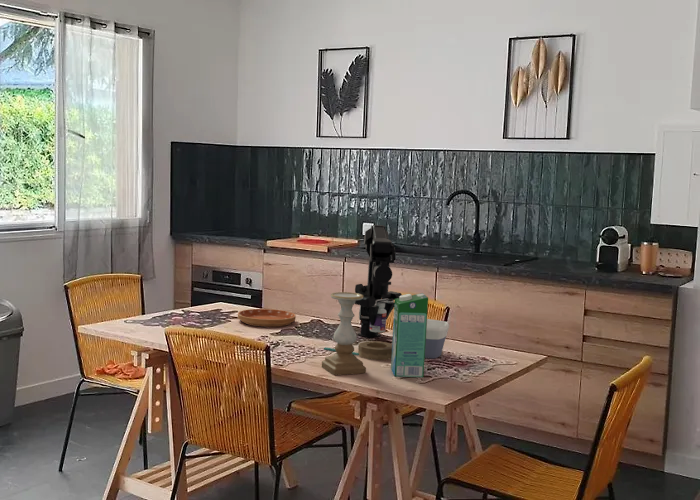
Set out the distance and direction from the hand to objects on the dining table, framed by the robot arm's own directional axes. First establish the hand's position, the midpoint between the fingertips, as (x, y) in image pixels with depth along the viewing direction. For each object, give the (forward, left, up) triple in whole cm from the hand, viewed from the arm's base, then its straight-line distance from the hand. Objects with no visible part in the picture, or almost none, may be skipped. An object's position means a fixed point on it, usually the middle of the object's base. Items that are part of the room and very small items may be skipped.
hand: (377, 323), depth 273 cm
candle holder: (+23, +6, -11) cm, 26 cm away
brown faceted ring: (0, 0, -11) cm, 11 cm away
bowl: (-15, +9, -11) cm, 21 cm away
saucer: (-7, -63, -11) cm, 64 cm away
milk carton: (+10, +21, -11) cm, 26 cm away
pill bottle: (0, 0, -3) cm, 3 cm away
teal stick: (+6, -10, -11) cm, 16 cm away
